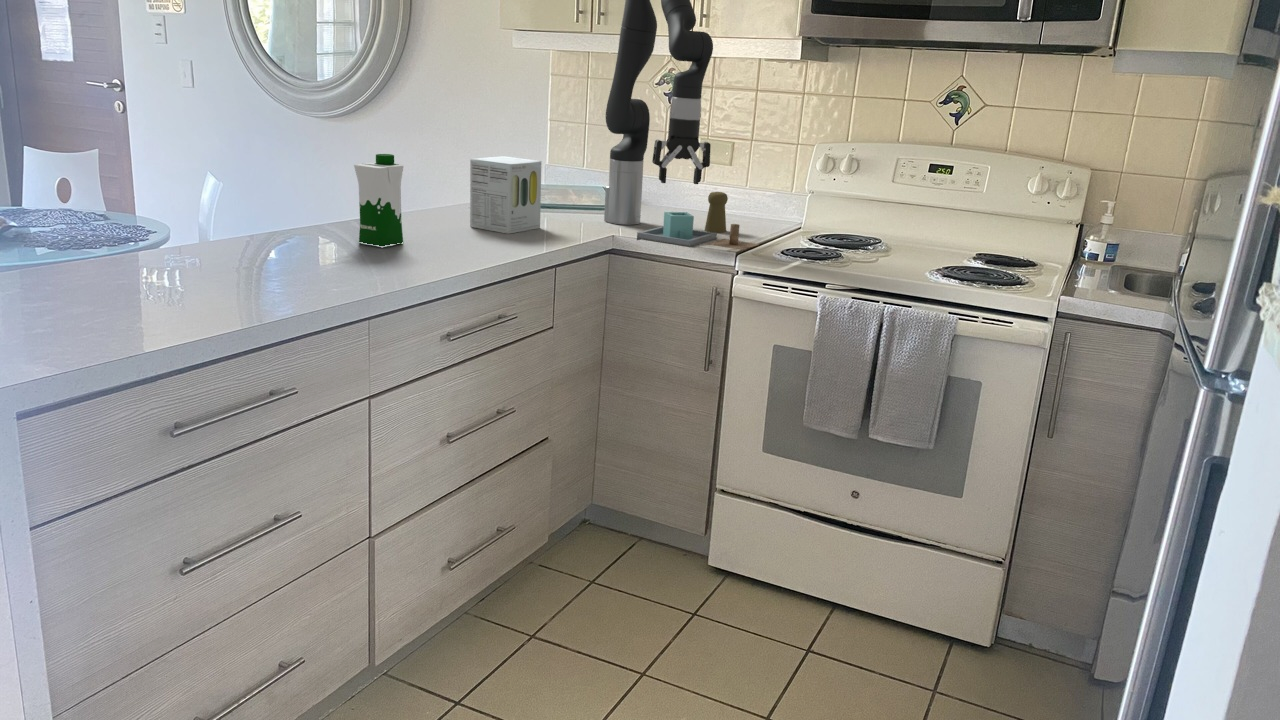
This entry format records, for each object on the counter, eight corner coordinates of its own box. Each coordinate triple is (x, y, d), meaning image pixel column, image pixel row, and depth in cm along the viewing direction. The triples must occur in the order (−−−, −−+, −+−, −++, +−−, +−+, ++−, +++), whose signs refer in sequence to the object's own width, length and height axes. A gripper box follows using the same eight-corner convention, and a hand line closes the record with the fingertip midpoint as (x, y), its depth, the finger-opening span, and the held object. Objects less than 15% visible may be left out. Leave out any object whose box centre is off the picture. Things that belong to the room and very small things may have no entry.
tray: (636, 240, 236) (637, 232, 236) (665, 232, 249) (666, 225, 248) (689, 249, 229) (689, 240, 229) (716, 240, 242) (716, 233, 241)
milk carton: (409, 243, 217) (407, 156, 210) (381, 249, 209) (378, 158, 203) (380, 238, 220) (377, 152, 214) (352, 244, 213) (348, 154, 207)
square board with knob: (706, 246, 234) (708, 224, 232) (724, 240, 242) (725, 219, 240) (743, 252, 229) (745, 229, 227) (759, 246, 237) (761, 224, 236)
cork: (718, 235, 249) (721, 194, 245) (699, 232, 252) (702, 191, 249) (730, 233, 253) (734, 192, 250) (711, 230, 257) (715, 189, 253)
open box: (662, 235, 241) (664, 211, 239) (685, 235, 242) (686, 212, 240) (671, 240, 234) (672, 216, 232) (693, 241, 235) (695, 217, 233)
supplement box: (509, 234, 235) (509, 163, 229) (469, 227, 241) (469, 158, 236) (541, 228, 246) (542, 160, 240) (502, 221, 252) (503, 155, 247)
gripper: (708, 117, 234) (702, 182, 240) (653, 113, 231) (648, 180, 236) (717, 119, 228) (711, 186, 233) (661, 116, 224) (655, 184, 229)
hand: (679, 183), depth 234 cm, fingers open, 8 cm apart
